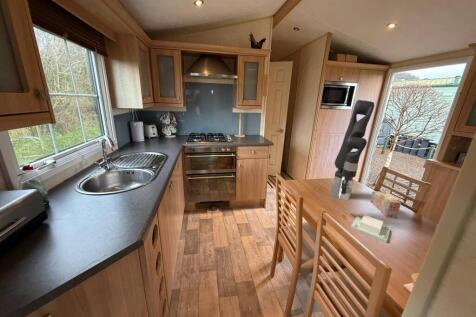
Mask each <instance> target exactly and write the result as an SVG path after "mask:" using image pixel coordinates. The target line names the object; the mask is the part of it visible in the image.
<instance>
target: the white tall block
mask: <svg viewBox="0 0 476 317" xmlns="http://www.w3.org/2000/svg"><path fill="white" fill-rule="evenodd" d="M344 178H345V177H342V180H344ZM350 180H351V181H350ZM350 180H349V181H348V182H349V186H347V189H346V192H345V194H342V193H341V191H342V188H341V186H342V182H341V186H340V191H339V198H338V199H339V200H342V201H347V202H349V201H350V200H351V199H350V198H351V194H352V191H353V187H354V182H355V181H354V179H350ZM347 184H348V183H347ZM344 187H345V186H344Z"/></svg>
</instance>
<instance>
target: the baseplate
mask: <svg viewBox="0 0 476 317" xmlns="http://www.w3.org/2000/svg"><path fill="white" fill-rule="evenodd" d="M383 223H384V221H383V220H380V219H378V218H374V217H371V216H368V215H366V214H363V215H362V217H360V216H355V219H354V220H353V221H352V223H351V225H350V229H351V230H354V231H357V232H359V233H362V234H364V235H367V236H369V237H372V238H374V239H376V240H379V241H381V242H384V243H387V242H388V238H389V236H390V231H391V228H390V227H388V226H385V225H383Z"/></svg>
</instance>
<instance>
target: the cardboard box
mask: <svg viewBox="0 0 476 317" xmlns="http://www.w3.org/2000/svg"><path fill="white" fill-rule="evenodd" d="M371 193H372V195H371V198H370V202H371V203H372V205H373V206H375V207H376V209H377V210H378V212H380V213H381V214H382V215H383V216H384V218H386V219H397V217H398V213H399V210H400V208H401V205H402V202H401V201H400V200H399V199H398V198H396V197H395V196H393V195H392V194H391V193H384V192H383V191H377V190H373V191H372V192H371Z"/></svg>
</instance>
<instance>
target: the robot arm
mask: <svg viewBox="0 0 476 317" xmlns="http://www.w3.org/2000/svg"><path fill="white" fill-rule="evenodd" d="M374 109H375V103H374V102H373V101H371V100H361V99H357V100H356V102H355V104H354V106H353V110H352V113H351V118H350V121H349V123H348V127H347V129H346V132H345V133H344V134H345V135H344V137H343V141H342V143H341V146H340V149H339V151H338V154H337V156H336V158H335V160H334V165H335V168H336V169H337V170H336V171H334V177H333V183H332V184H331V190H330V196H332V197H334V198H336V199H339V191H340V186H341V182H342V186H341V188H342V191H341V193H342V194H345V192H346V189H347V186H349V182H348V181H349V180H350V179H353V178H356V176H357V173H358V168H359V162H360V157H361V156H362V153H363V151H364V150H365V148H366V146H367V144H368V142H367V139H366V138H365V136H366V131H367V126H368V125H369V122H370V120H371V117H372V115H373V111H374ZM358 115H361V116H363V117H362V118H360V119H358V118H357V117H358ZM352 150H356V151H352ZM342 177H345V178H344V180H342ZM353 180H354V179H353ZM350 181H351V180H350ZM347 183H348V184H347ZM344 186H345V187H344Z"/></svg>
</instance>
